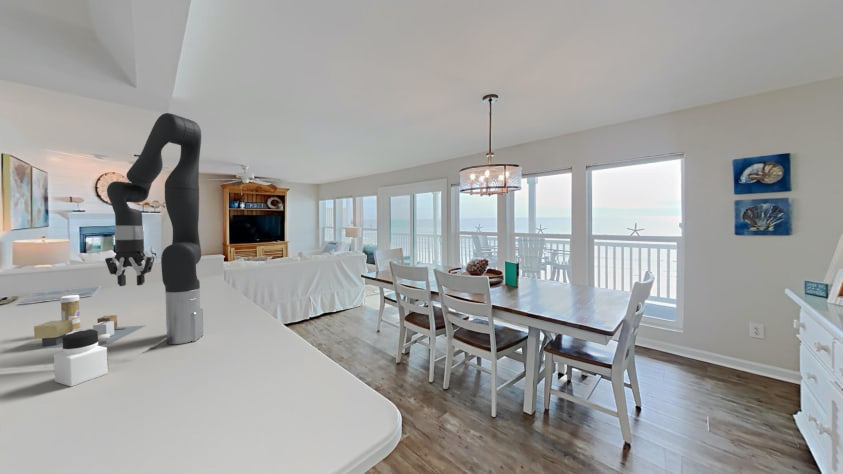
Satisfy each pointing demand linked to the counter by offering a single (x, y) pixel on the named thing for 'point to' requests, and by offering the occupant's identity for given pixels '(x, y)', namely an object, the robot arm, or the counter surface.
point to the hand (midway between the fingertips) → (131, 285)
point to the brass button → (53, 329)
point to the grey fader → (104, 328)
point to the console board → (112, 338)
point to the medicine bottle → (80, 358)
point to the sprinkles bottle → (70, 310)
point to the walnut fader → (109, 319)
